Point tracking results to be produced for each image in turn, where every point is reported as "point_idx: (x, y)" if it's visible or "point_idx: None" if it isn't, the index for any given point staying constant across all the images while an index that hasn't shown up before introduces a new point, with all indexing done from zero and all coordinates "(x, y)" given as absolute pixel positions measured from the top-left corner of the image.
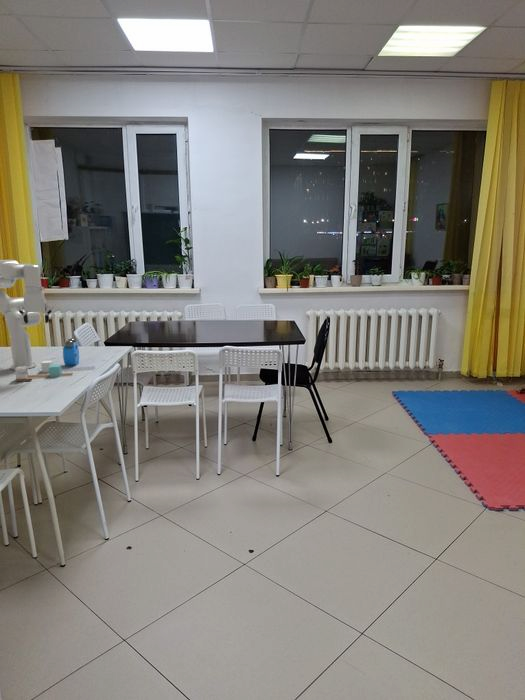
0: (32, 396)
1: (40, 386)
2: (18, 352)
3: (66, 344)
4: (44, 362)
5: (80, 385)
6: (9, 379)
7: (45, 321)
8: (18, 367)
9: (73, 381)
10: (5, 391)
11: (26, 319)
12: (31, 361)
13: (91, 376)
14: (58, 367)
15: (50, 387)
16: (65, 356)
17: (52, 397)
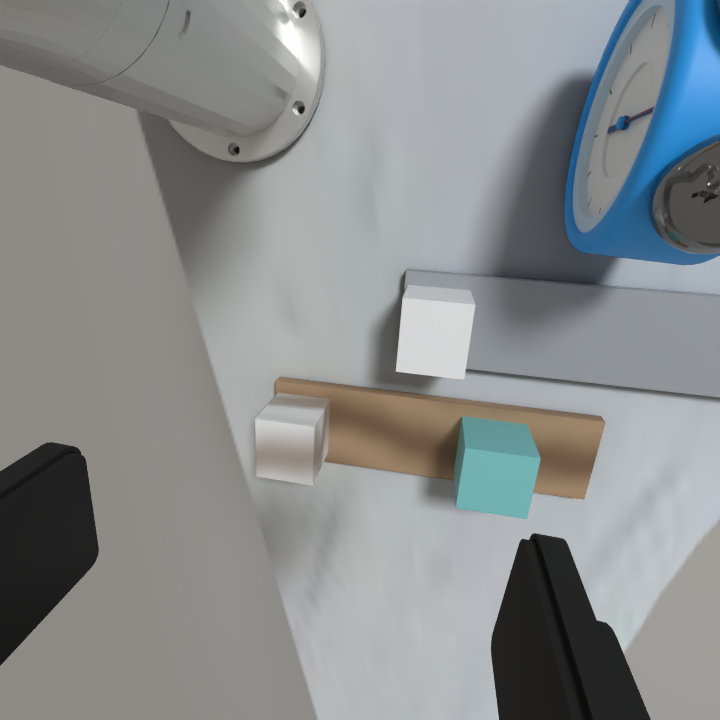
0: (396, 672)
1: (414, 562)
2: (160, 115)
3: (681, 242)
4: (418, 358)
5: (611, 625)
6: (234, 379)
7: (499, 685)
8: (264, 435)
9: (582, 549)
10: (273, 569)
11: (23, 623)
12: (287, 68)
13: (705, 496)
14: (520, 514)
15: (463, 595)
16: (598, 254)
17: (476, 715)
